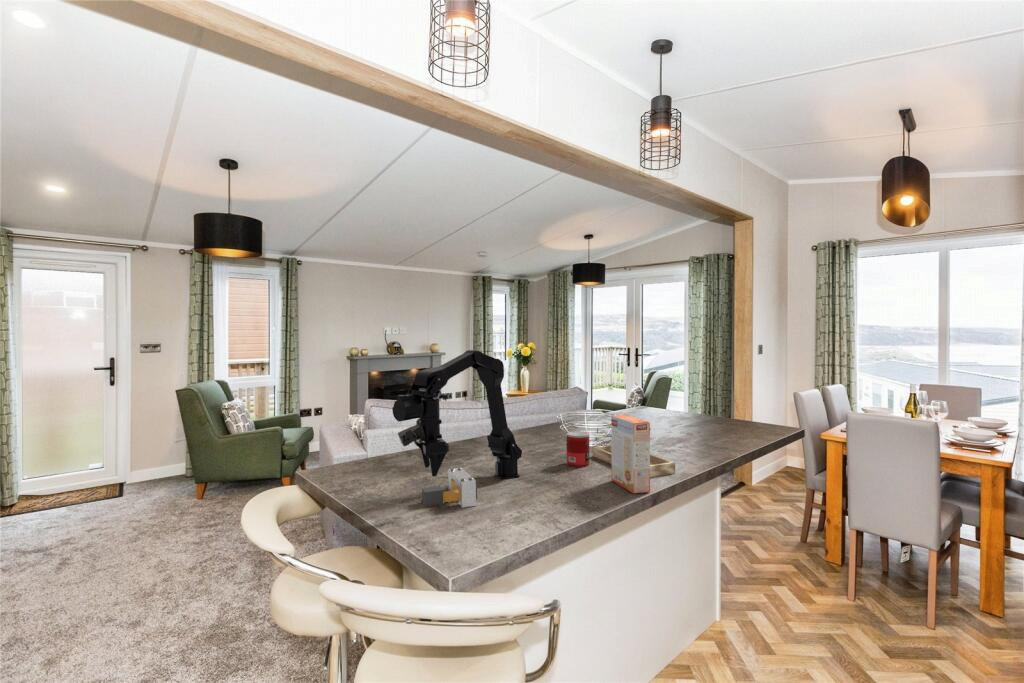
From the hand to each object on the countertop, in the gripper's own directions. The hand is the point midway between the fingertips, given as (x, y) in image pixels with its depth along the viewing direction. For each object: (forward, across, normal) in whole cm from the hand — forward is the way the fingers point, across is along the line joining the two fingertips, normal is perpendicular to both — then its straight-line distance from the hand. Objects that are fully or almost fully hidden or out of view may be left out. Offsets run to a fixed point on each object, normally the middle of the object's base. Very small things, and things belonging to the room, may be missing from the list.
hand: (430, 471), depth 135 cm
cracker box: (+9, +11, +59) cm, 61 cm away
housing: (+9, 0, +9) cm, 13 cm away
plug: (+9, 0, +5) cm, 11 cm away
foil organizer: (+9, -9, +74) cm, 75 cm away
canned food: (+9, -17, +57) cm, 60 cm away
